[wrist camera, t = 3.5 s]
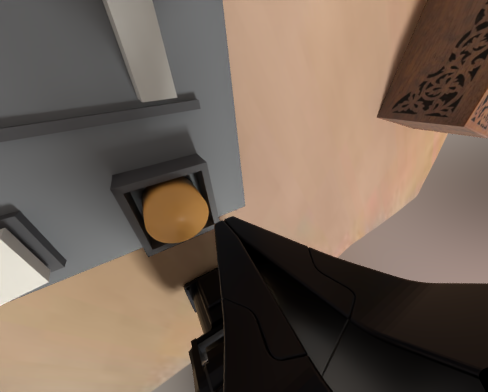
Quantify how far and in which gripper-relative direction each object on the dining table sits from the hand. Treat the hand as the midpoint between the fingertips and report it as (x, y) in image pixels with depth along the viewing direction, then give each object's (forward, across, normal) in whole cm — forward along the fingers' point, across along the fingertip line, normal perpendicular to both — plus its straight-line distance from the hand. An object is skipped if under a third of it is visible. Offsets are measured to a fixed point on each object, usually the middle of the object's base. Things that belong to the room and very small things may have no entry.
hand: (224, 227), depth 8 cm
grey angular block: (+9, 0, -7) cm, 12 cm away
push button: (+9, +1, +3) cm, 9 cm away
